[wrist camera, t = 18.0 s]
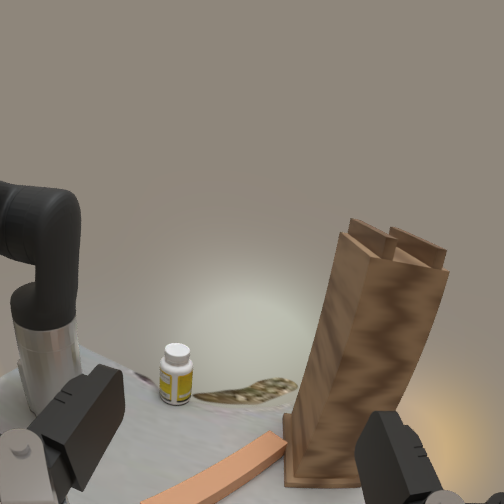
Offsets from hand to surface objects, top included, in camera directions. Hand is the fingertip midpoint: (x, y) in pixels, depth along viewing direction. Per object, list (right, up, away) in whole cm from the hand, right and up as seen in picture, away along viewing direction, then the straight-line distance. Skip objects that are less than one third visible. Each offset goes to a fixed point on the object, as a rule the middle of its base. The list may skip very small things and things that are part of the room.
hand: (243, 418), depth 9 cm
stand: (+10, -25, +32) cm, 42 cm away
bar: (-4, -25, +24) cm, 35 cm away
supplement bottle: (-13, -20, +40) cm, 47 cm away
